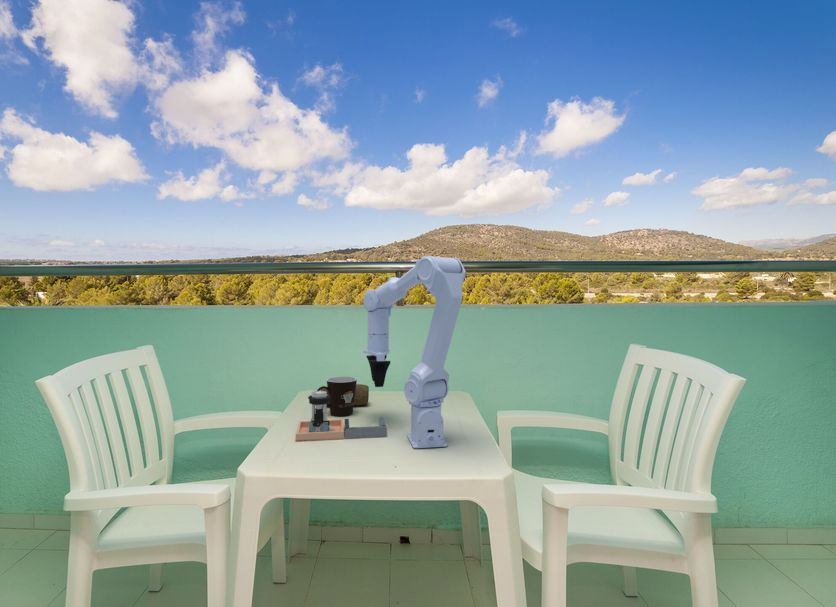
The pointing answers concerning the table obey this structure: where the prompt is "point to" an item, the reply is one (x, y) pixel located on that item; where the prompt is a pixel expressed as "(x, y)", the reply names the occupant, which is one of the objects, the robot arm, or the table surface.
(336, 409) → the coffee mug
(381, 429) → the bracket
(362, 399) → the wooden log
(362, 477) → the table surface
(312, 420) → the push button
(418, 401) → the robot arm
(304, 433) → the tray
